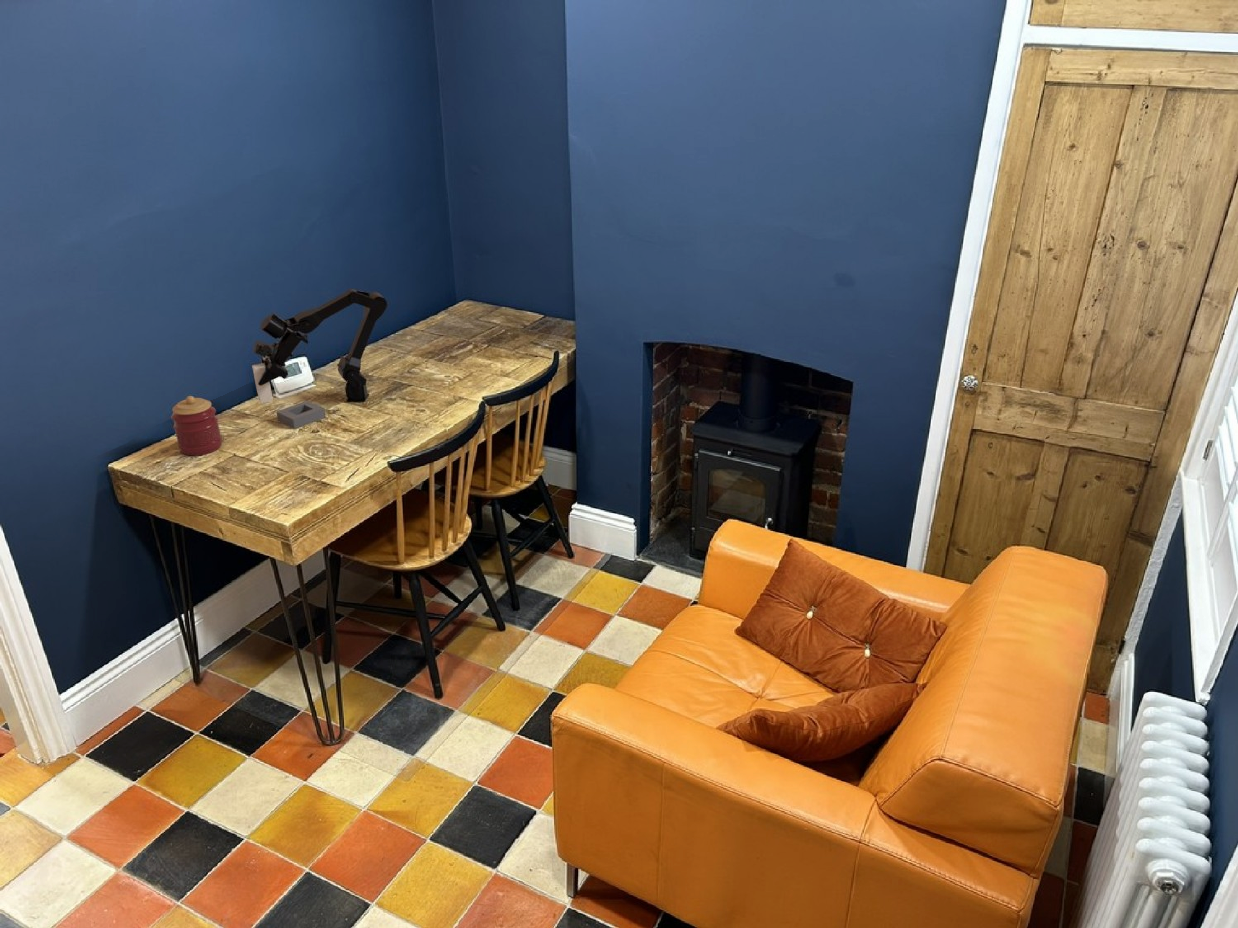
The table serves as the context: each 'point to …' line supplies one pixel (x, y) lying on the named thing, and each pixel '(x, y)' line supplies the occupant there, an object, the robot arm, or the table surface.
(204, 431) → the canister
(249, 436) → the table surface
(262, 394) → the light grey peg
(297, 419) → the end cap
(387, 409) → the table surface
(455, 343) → the table surface
